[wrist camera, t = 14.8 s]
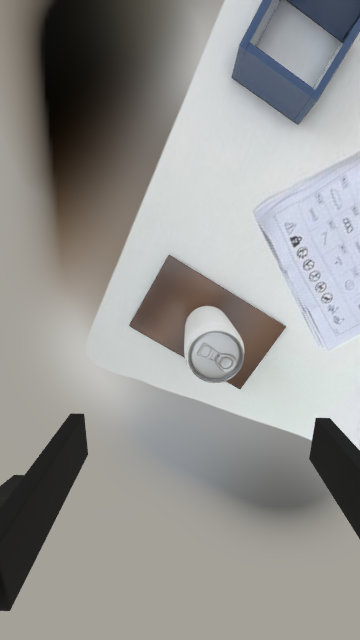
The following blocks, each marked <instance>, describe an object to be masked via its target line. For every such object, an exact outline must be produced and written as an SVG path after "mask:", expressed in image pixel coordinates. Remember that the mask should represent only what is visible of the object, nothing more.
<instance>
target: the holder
mask: <svg viewBox="0 0 360 640" xmlns="http://www.w3.org/2000/svg"><path fill="white" fill-rule="evenodd" d="M287 1H289V2H290V3H291V4H293V5H294V6H295V7H297V8H298V9H299V10H301V11H302V12H303V13H304V14H306V15H307V16H308V17H310V18H311V19H312V20H314V21H315V22H316V23H318V24H319V25H320V26H321V27H323V28H324V29H325V30H327V31H328V32H329V33H331V34H332V35H333V36H335V37H336V38H337V39H338V40H340V41H341V43H340V45H339V46H338V48H337V50H336V51H335V53H334V54H333V56H332V58H331V59H330V61H329V63H328V64H327V66H326V68H325V69H324V71H323V73H322V74H321V76H320V78H319V79H318V81H317V83H316V84H315V86H314V87H313V88H312V87H311V86H309V85H308V84H306V83H305V82H304V81H302V80H301V79H300V78H298V77H297V76H295V75H294V74H293V73H291V72H290V71H289V70H287V69H286V68H285V67H283V66H282V65H280V64H279V63H278V62H276V61H275V60H274V59H272V58H271V57H270V56H268V55H267V54H265V53H264V52H263V51H261V50H260V49H259V48H257V47H256V45H257V43H258V41H259V40H260V38H261V36H262V34H263V32H264V30H265V28H266V26H267V25H268V23H269V21H270V19H271V17H272V15H273V13H274V12H275V10H276V8H277V6H278V4H279V2H280V0H263V1H262V3H261V5H260V7H259V9H258V10H257V12H256V14H255V16H254V18H253V20H252V22H251V24H250V26H249V28H248V30H247V32H246V33H245V35H244V37H243V39H242V41H241V43H240V45H239V49H238V53H237V57H236V61H235V66H234V70H233V74H232V78H233V79H235V80H236V81H237V82H239V83H240V84H242V85H243V86H245V87H246V88H247V89H249V90H250V91H252V92H253V93H254V94H256V95H257V96H259V97H260V98H261V99H263V100H264V101H266V102H267V103H268V104H270V105H271V106H273V107H274V108H275V109H277V110H278V111H280V112H281V113H283V114H284V115H285V116H287V117H288V118H290V119H291V120H292V121H293V120H294V122H295V123H297V124H299V123H300V122H301V121H302V119H303V118H304V117H305V116H306V114H307V113H308V112H309V111H310V109H311V108H312V107H313V106H314V104H315V103H316V102H317V100H318V99H319V97H320V96H321V94H322V92H323V91H324V89H325V87H326V86H327V84H328V83H329V81H330V79H331V78H332V76H333V74H334V73H335V71H336V70H337V68H338V66H339V65H340V63H341V61H342V60H343V58H344V57H345V55H346V53H347V52H348V50H349V48H350V47H351V45H352V44H353V42H354V40H355V39H356V37H357V36H358V34H359V32H360V0H287Z"/></svg>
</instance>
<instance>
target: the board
mask: <svg viewBox="0 0 360 640" xmlns="http://www.w3.org/2000/svg"><path fill="white" fill-rule="evenodd" d="M202 306H213V307H216V308H218V309H220V310H221V311H222V312H223V313H224V314H225V315H226V316H227V318H228V319H229V320H230V322H231V323H232V325H233V326H234V327H235V329H236V330H237V332H238V333H239V335H240V337H241V339H242V341H243V344H244V361H243V364H242V367H241V369H240V370H239V372H238V373H237V374H236V375H235V376H234V377H232V378H231V379H229V380H227V381H226V382H228V383H230V384H232V385H233V386H235V387H237V388H239V389H241V387H242V386H243V385H244V383H245V382H246V381H247V379H248V378H249V376H250V375H251V374H252V372H253V371H254V370H255V368H256V367H257V366H258V364H259V363H260V362H261V360H262V359H263V357H264V356H265V355H266V353H267V352H268V351H269V349H270V348H271V347H272V345H273V344H274V342H275V341H276V340H277V338H278V337H279V336H280V334H281V333H282V332H283V330H284V329H285V327H286V326H284V325H283V324H281V323H279V322H278V321H276V320H275V319H273V318H271V317H270V316H268V315H266V314H265V313H263V312H261V311H260V310H258V309H257V308H255V307H253V306H252V305H250V304H248V303H247V302H245V301H244V300H242V299H240V298H239V297H237V296H235V295H234V294H232V293H230V292H229V291H227V290H226V289H224V288H222V287H221V286H219V285H217V284H216V283H214V282H212V281H211V280H209V279H208V278H206V277H204V276H203V275H201V274H199V273H198V272H196V271H195V270H193V269H191V268H190V267H188V266H186V265H185V264H183V263H181V262H180V261H178V260H177V259H175V258H173V257H172V256H170V255H169V256H168V258H167V259H166V261H165V263H164V265H163V267H162V268H161V270H160V272H159V274H158V275H157V277H156V279H155V281H154V283H153V284H152V286H151V288H150V290H149V291H148V293H147V295H146V297H145V299H144V300H143V302H142V304H141V306H140V307H139V309H138V311H137V313H136V315H135V316H134V318H133V320H132V322H131V323H130V325H129V326H130V327H132V328H134V329H135V330H137V331H139V332H141V333H142V334H144V335H146V336H148V337H149V338H151V339H153V340H155V341H156V342H158V343H160V344H162V345H163V346H165V347H167V348H169V349H170V350H172V351H174V352H176V353H177V354H179V355H181V356H183V357H184V358H185V355H184V338H185V324H186V320H187V318H188V316H189V315H190V314H191V312H193V311H194V310H195V309H197V308H199V307H202Z"/></svg>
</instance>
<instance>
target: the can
mask: <svg viewBox="0 0 360 640" xmlns="http://www.w3.org/2000/svg"><path fill="white" fill-rule="evenodd" d="M184 355H185V359H186V362H187V364H188V366H189V367H190V369H191V370H192V371H193V373H194V374H195V375H196V376H197V377H199V378H200V379H202V380H204V381H207V382H211V383H220V382H224V381H227V380H229V379H231V378H232V377H234V376H235V375H236V374H237V373H238V372H239V370H240V369H241V367H242V364H243V361H244V344H243V341H242V339H241V337H240V335H239V333H238V332H237V330H236V329H235V327H234V326H233V325H232V323H231V322H230V320H229V319H228V318H227V316H226V315H225V314H224V313H223V312H222V311H221V310H220V309H218V308H216V307H213V306H202V307H199V308H197V309H195V310H194V311H193V312H191V314H190V315H189V316H188V318H187V320H186V324H185V338H184Z"/></svg>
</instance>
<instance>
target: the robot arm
mask: <svg viewBox="0 0 360 640" xmlns="http://www.w3.org/2000/svg"><path fill="white" fill-rule="evenodd" d="M87 455H88V449H87V440H86V430H85V419H84V414H70V415H69V417H68V418H67V419H66V421H65V422H64V423H63V425H62V426H61V427H60V429H59V430H58V431H57V433H56V434H55V435H54V437H53V438H52V439H51V441H50V442H49V443H48V445H47V446H46V447H45V449H44V450H43V451H42V453H41V454H40V455H39V457H38V458H37V459H36V461H35V462H34V463H33V465H32V466H31V468H30V469H29V470H28V471H27V473H26V474H25V475H14V476H12V477H11V478H10V479H9V480H7V481H6V482H5V483H4V484H3V485H1V486H0V611H10V610H11V608H12V605H13V603H14V601H15V599H16V597H17V596H18V594H19V592H20V589H21V588H22V585H23V584H24V582H25V580H26V577H27V575H28V573H29V571H30V570H31V567H32V566H33V563H34V561H35V560H36V558H37V555H38V553H39V551H40V549H41V547H42V545H43V543H44V541H45V539H46V537H47V535H48V533H49V531H50V529H51V527H52V525H53V523H54V521H55V519H56V517H57V515H58V513H59V511H60V509H61V507H62V505H63V503H64V501H65V499H66V497H67V495H68V493H69V491H70V489H71V487H72V485H73V483H74V481H75V479H76V477H77V475H78V473H79V471H80V469H81V467H82V465H83V463H84V461H85V459H86V457H87ZM309 459H310V461H311V462H312V464H313V465H314V467H315V469H316V470H317V472H318V473H319V475H320V476H321V478H322V480H323V481H324V483H325V484H326V486H327V488H328V489H329V491H330V492H331V494H332V496H333V497H334V499H335V500H336V502H337V504H338V505H339V507H340V508H341V510H342V512H343V513H344V515H345V516H346V518H347V519H348V521H349V523H350V524H351V526H352V527H353V529H354V531H355V532H356V534H357V535H358V537H359V538H360V450H359V449H358V448H357V447H356V446H355V445H354V444H353V443H352V442H351V441H350V440H349V439H348V437H347V436H346V435H345V434H344V433H343V432H342V431H341V430H340V429H339V428H338V427H337V426H336V424H335V423H334V422H333V421H332V420H331V419H330V418H316V421H315V427H314V433H313V439H312V446H311V452H310V458H309Z"/></svg>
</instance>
